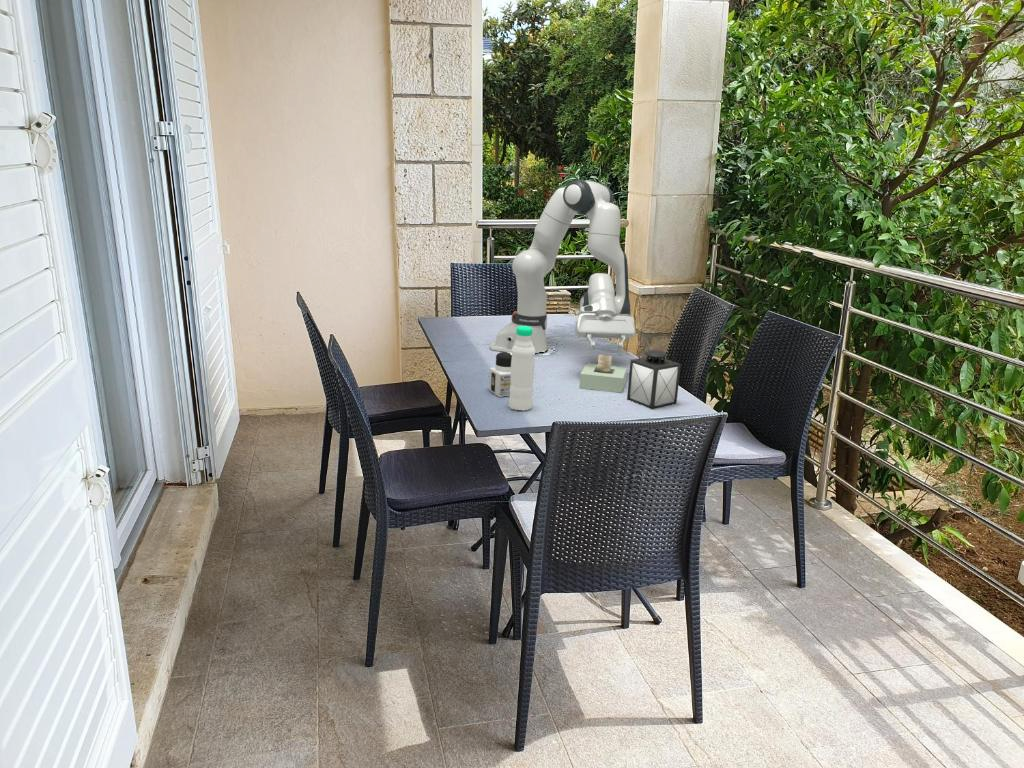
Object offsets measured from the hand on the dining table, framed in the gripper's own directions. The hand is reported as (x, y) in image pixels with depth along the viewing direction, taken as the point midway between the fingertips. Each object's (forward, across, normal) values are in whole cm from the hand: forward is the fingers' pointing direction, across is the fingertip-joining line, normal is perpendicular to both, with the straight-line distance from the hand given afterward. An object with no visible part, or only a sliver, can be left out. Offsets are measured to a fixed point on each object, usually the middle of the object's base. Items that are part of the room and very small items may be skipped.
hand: (606, 347), depth 268 cm
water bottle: (+29, +31, +11) cm, 44 cm away
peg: (+10, +1, -7) cm, 13 cm away
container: (+19, +35, 0) cm, 39 cm away
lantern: (+23, -12, +5) cm, 26 cm away
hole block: (+10, +1, -7) cm, 13 cm away
